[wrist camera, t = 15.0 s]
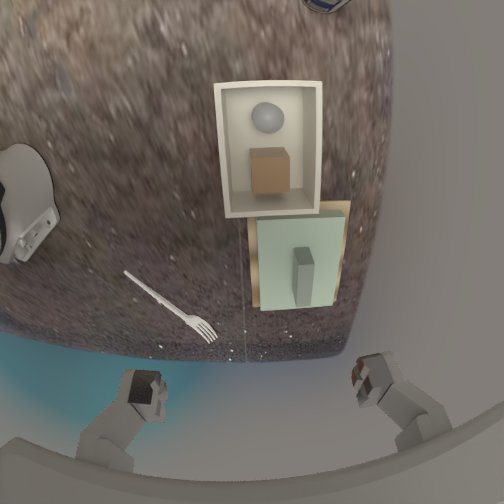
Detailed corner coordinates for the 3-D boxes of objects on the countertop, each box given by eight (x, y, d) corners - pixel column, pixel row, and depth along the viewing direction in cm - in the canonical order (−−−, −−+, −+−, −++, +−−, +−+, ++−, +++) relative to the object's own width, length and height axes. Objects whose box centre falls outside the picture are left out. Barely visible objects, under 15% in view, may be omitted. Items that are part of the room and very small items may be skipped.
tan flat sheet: (335, 299, 46) (335, 301, 46) (252, 305, 46) (252, 307, 46) (349, 199, 36) (350, 200, 36) (246, 203, 36) (246, 204, 36)
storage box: (306, 190, 35) (319, 213, 30) (228, 194, 36) (225, 218, 30) (306, 82, 28) (321, 81, 22) (220, 85, 28) (213, 83, 22)
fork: (130, 262, 42) (126, 269, 40) (220, 329, 50) (219, 337, 48) (120, 273, 43) (116, 280, 41) (208, 337, 51) (207, 344, 49)
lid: (329, 295, 45) (338, 323, 40) (260, 300, 45) (262, 330, 40) (340, 209, 37) (355, 232, 31) (256, 212, 37) (258, 236, 31)
